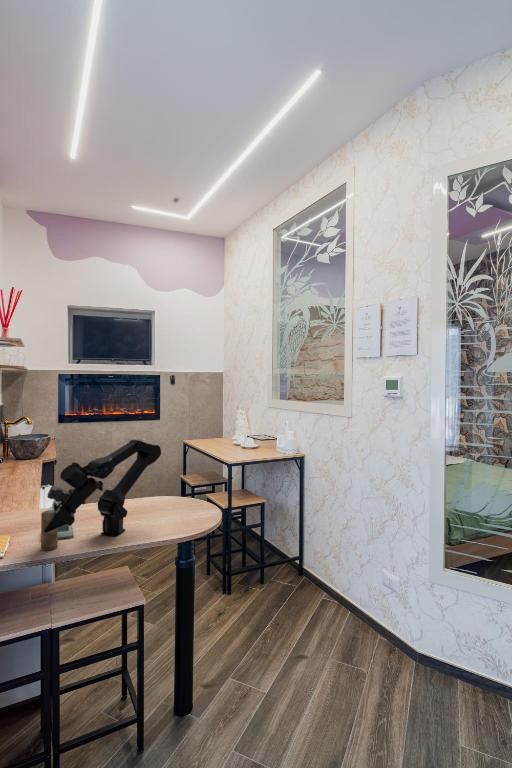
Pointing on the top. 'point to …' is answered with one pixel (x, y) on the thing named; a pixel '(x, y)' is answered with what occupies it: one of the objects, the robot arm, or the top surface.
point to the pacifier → (52, 505)
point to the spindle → (50, 538)
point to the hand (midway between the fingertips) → (44, 528)
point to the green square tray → (65, 532)
